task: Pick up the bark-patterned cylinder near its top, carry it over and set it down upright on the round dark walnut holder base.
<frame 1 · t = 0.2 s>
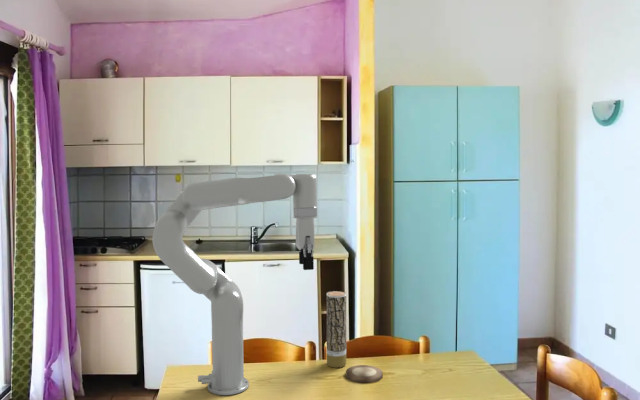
hand: (306, 266, 169), 37 cm above the table, tool pointing down, fingers open, 9 cm apart
bark-patterned cylinder: (336, 365, 184), on the table
holder base: (364, 375, 174), on the table
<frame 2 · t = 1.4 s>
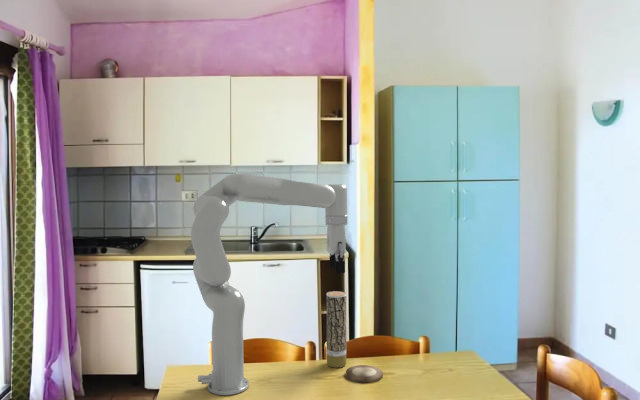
hand: (337, 270, 182), 33 cm above the table, tool pointing down, fingers open, 9 cm apart
nothing on the table moved.
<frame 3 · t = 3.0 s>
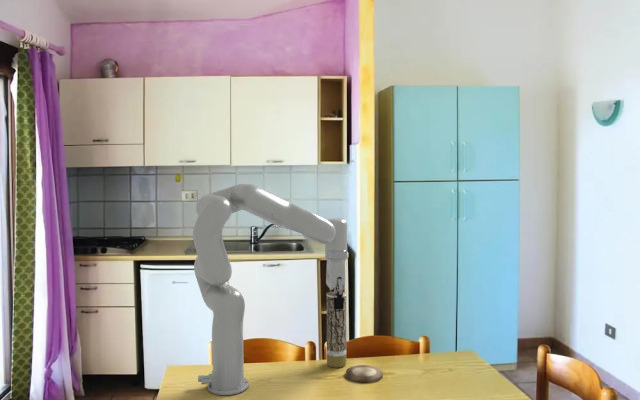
hand: (336, 305, 183), 21 cm above the table, tool pointing down, fingers closed on bark-patterned cylinder, 6 cm apart
bark-patterned cylinder: (336, 365, 184), on the table, touching gripper
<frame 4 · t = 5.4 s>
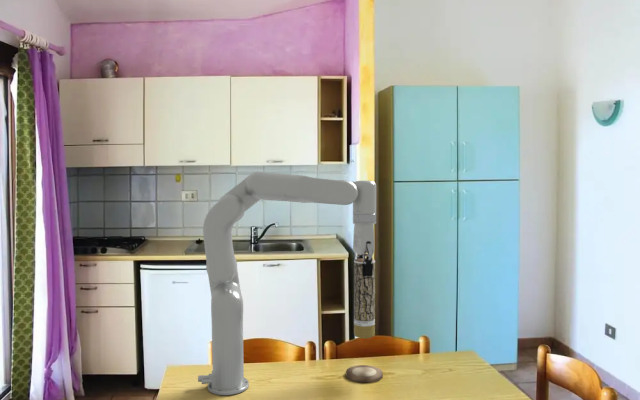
hand: (364, 273, 172), 34 cm above the table, tool pointing down, fingers closed on bark-patterned cylinder, 6 cm apart
bark-patterned cylinder: (364, 336, 174), point 13 cm above the table, touching gripper
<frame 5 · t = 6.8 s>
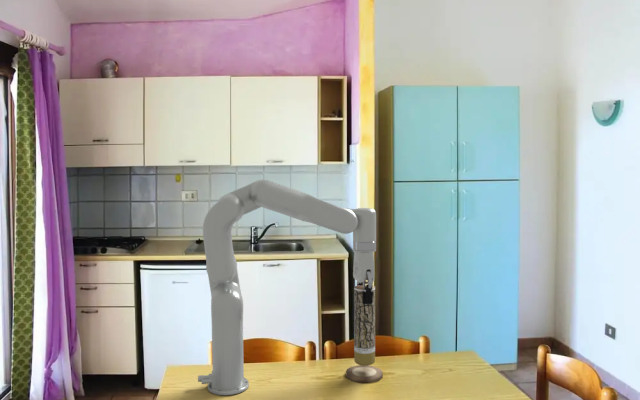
hand: (364, 300, 173), 25 cm above the table, tool pointing down, fingers closed on bark-patterned cylinder, 6 cm apart
bark-patterned cylinder: (364, 363, 174), point 4 cm above the table, touching gripper
when the fingers open (23 cm above the table, at t = 7.8 s): bark-patterned cylinder stays where it is, resting on holder base.
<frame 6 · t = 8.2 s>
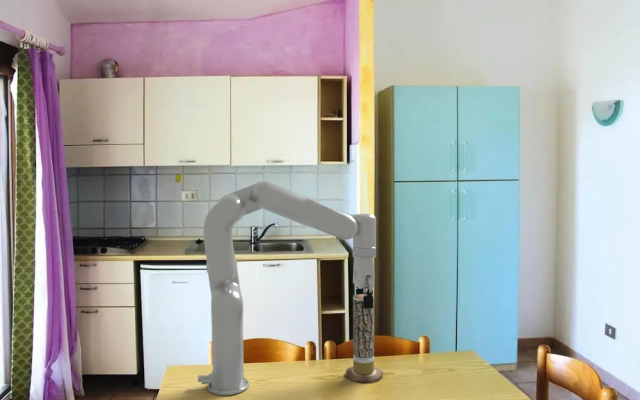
hand: (364, 304, 173), 24 cm above the table, tool pointing down, fingers open, 9 cm apart
bark-patterned cylinder: (363, 372, 174), point 1 cm above the table, touching holder base
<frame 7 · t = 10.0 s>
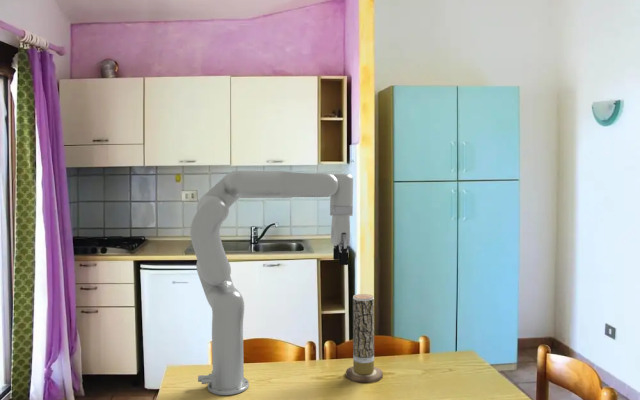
hand: (340, 262, 177), 37 cm above the table, tool pointing down, fingers open, 9 cm apart
nothing on the table moved.
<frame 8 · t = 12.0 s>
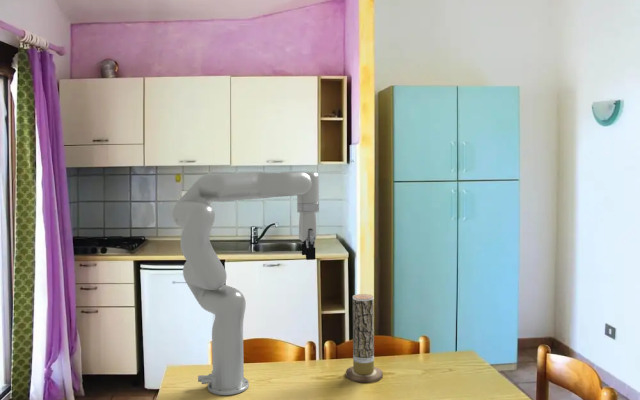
hand: (308, 257, 184), 37 cm above the table, tool pointing down, fingers open, 9 cm apart
nothing on the table moved.
at the end: bark-patterned cylinder 0.3 cm from the holder base (horizontally); bark-patterned cylinder tilted 1°; bark-patterned cylinder touching holder base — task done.
